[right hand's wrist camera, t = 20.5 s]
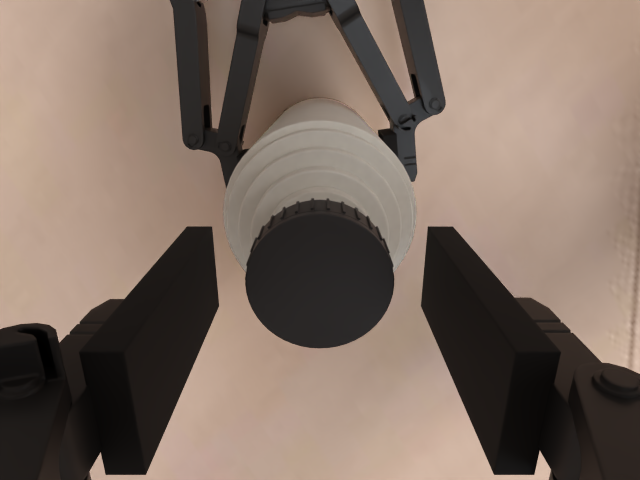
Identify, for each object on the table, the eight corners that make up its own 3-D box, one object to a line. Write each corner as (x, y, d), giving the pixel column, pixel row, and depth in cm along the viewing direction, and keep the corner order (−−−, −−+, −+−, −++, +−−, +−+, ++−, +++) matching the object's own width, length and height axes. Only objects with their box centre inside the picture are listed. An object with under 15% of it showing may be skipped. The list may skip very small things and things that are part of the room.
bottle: (324, 224, 36) (331, 425, 15) (245, 158, 34) (133, 287, 14) (394, 147, 34) (510, 263, 13) (314, 73, 32) (304, 75, 11)
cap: (247, 196, 14) (238, 211, 12) (392, 197, 14) (401, 212, 12) (253, 323, 15) (246, 349, 14) (384, 324, 15) (391, 350, 14)
